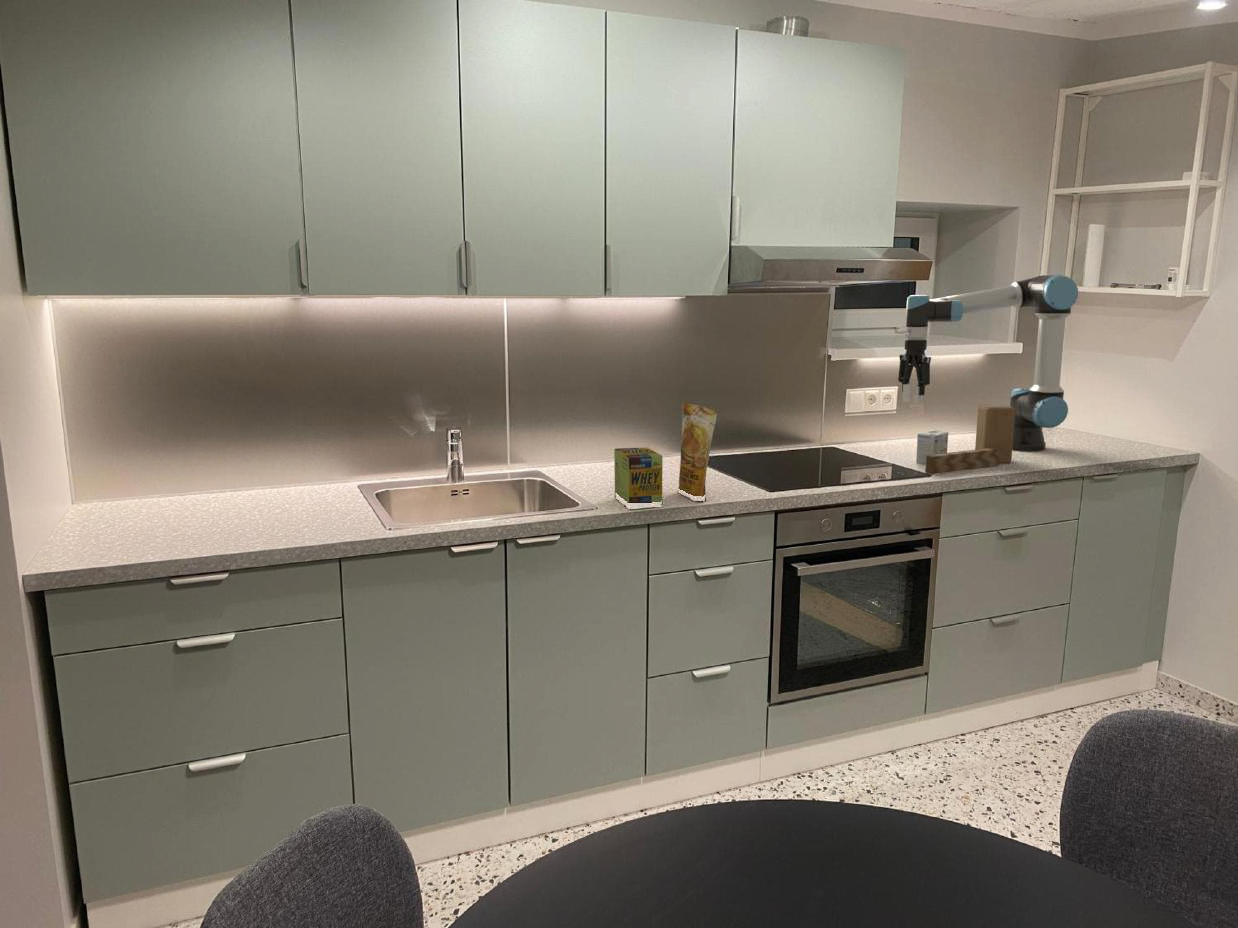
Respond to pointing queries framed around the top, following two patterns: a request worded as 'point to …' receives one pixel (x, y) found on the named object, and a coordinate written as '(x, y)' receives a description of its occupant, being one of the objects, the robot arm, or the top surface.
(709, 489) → the top surface
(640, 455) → the protein box
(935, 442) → the light bulb box
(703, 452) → the pancake mix bag
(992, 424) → the wooden block
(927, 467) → the walnut board
